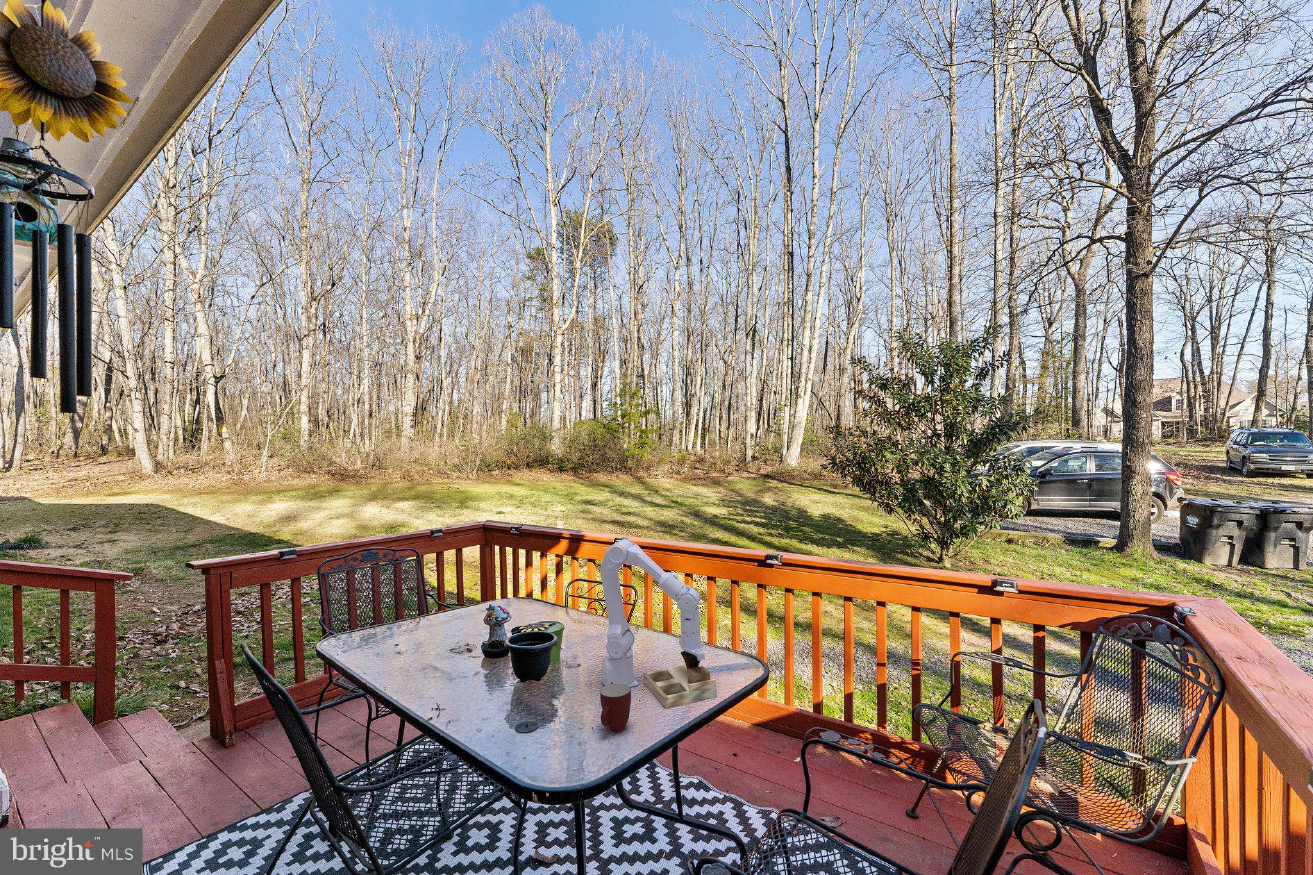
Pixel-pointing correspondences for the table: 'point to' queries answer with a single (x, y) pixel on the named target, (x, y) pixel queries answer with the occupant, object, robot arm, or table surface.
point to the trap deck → (678, 687)
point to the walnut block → (698, 674)
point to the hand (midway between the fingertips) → (692, 675)
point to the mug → (615, 706)
